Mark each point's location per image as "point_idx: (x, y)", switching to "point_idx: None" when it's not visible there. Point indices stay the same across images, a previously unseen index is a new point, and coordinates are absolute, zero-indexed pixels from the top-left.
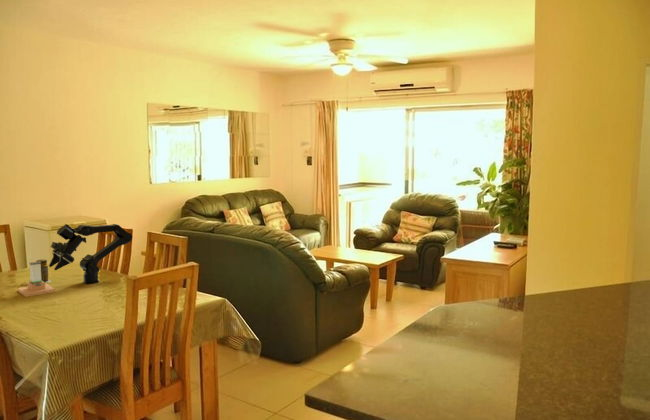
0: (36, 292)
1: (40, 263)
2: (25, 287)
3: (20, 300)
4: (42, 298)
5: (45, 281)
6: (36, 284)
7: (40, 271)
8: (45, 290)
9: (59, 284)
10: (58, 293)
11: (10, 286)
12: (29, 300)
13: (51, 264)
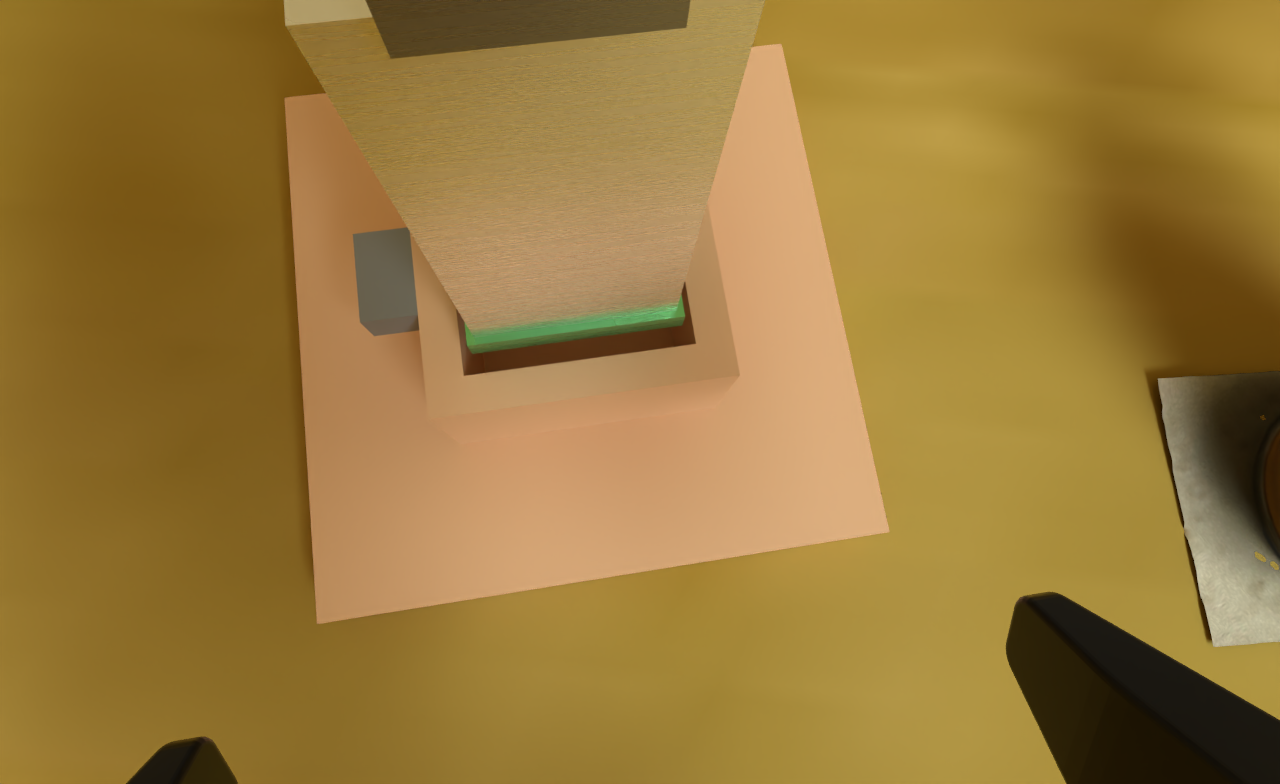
0: (296, 277)
1: (386, 19)
2: (774, 151)
3: (131, 53)
4: (13, 355)
5: (1276, 545)
6: (355, 237)
7: (407, 216)
8: (328, 435)
9: (931, 777)
10: (186, 661)
11: (1139, 14)
12: (32, 163)
13: (1088, 725)
